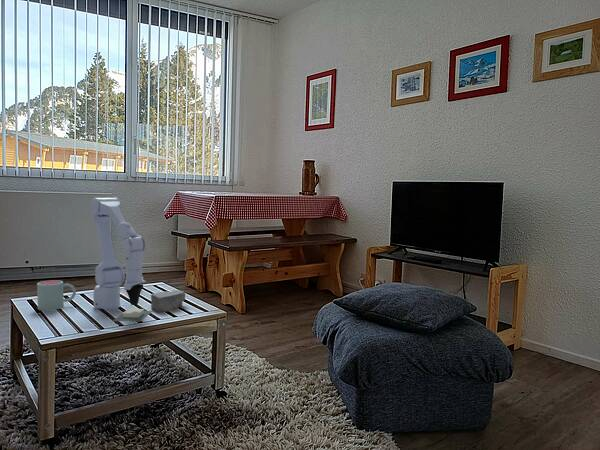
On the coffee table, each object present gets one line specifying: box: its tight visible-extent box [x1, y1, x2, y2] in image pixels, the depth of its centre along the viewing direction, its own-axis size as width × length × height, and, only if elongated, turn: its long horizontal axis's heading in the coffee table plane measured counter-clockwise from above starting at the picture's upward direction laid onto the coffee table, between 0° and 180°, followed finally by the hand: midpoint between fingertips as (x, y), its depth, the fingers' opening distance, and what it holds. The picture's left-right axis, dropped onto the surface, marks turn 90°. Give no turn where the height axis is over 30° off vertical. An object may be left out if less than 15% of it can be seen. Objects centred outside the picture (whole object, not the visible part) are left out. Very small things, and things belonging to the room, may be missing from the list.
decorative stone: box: [150, 289, 186, 314], centre depth 191 cm, size 15×7×10 cm
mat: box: [112, 310, 153, 323], centre depth 180 cm, size 10×14×1 cm
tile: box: [121, 308, 145, 318], centre depth 180 cm, size 6×2×6 cm
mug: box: [36, 279, 77, 312], centre depth 192 cm, size 14×9×10 cm
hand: (134, 304), depth 180 cm, fingers closed
